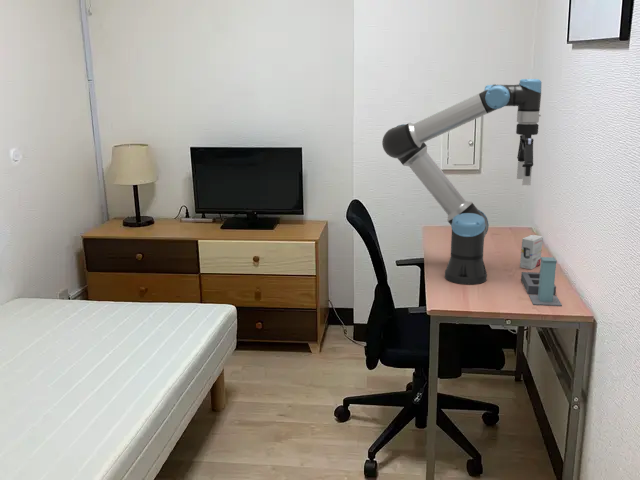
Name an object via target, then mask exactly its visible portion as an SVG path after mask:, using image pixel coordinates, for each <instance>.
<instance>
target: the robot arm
mask: <svg viewBox="0 0 640 480" xmlns="http://www.w3.org/2000/svg"><path fill="white" fill-rule="evenodd" d="M542 83H543V82H542V80H541V79H539V78H521V79H520V80H519V83H518V84H495V83H494V84H487V85H485V86H484V90H483V91H481V92H479V93H477V94H475V95H473V96H470V97H469V98H466V99H464V100H463V101H460V102H458V103H456V104H453V105H451V106H449V107H446V108H445V109H443V110H441V111H439V112H437V113H435V114H431V115H430V116H428V117H425V118H424V119H422V120H419V121H417V122H415V123H411V122H408V123H407V124H406V123H403V124H399V125H397V126H395V127H391V128H390V129H388V130H387V131H386V132H385V133H384V135H383V137H382V148H383V151H384V152H385V154H386V155H388V157H390V158H393V159H397V160H398V161H399V162H400V164H401V165H402V166H404V167H405V166H406V167H409V168H410V169H411V171H412V172H413V173H414V175H415V176H416V177H417V178H418V179H419V181H420V182H421V183H422V184H423V186H424V187H425V188H426V189H427V191H428V192H429V193H430V194H431V196H432V197H433V198H434V199H435V201H436V202H437V203H438V205H439V206H440V207H441V208H442V209H443V211H444V212H445V213H446V215H447V222H448V223H449V225H450V227H451V240H450V242H451V243H450V257H449V260H448V263H447V265H446V269H445V271H444V278H445V280H446V281H448V282H451V283H455V284H460V285H479V284H482V283H485V282H486V281H487V280H488V279H487V276H488V274H487V269H486V266H485V263H484V262H485V261H484V247H485V237H486V235H487V233H488V231H489V225H490V223H489V219H488V217H487V216H486V214H485V213H484V212H483V211H481V210H480V209H478V207H476V206H475V204H474V203H473V202H472V201H468V200H466V199H465V198H464V197H463V195H461V192H459V190H457V188H456V187H455V185H454V184H453V183H452V181H451V180H450V179H449V178H448V177H447V176H446V174H445V173H444V172H443V171H442V169H441V168H440V167H439V166H438V164H437V163H436V162H435V161H434V159H433V158H432V157H431V155H430V154H429V153H428V146H427V145H428V144H426V143H425V142H427V141H429V140H430V141H431V140H432V139H435V138H437V137H438V136H442V135H444V134H445V133H447V132H450V131H452V130H454V129H457V128H459V127H461V126H463V125H465V124H467V123H470V122H472V121H474V120H476V119H479V118H481V117H483V116H485V115H487V114H490V113H492V112H495V111H496V110H500V109H502V108H504V107H517V113H516V116H517V117H516V122H517V124H516V129H515V134H517V135H519V143H518V152H517V156H516V158H517V168H516V169H517V170H516V172H517V173H516V180H521V181H522V184H521V185H522V186H531V183H532V182H531V181H532V172H533V171H532V169H533V166H534V138H532V136H537V135H538V134H539V124H538V123H539V122H540V117H542V115H541V113H540V111H541V98H542Z"/></svg>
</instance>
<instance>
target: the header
mask: <svg viewBox="0 0 640 480" xmlns="http://www.w3.org/2000/svg"><path fill="white" fill-rule="evenodd" d="M520 275H521V276H520V281H521V282H522V285H523V287H524V289H525V291H526V293H527V295H538V289H539V277H540V272H535V271H533V272H531V271H530V272H529V271H521V273H520ZM556 291H557V286H556V285H555V283H554V293H553V296H556Z"/></svg>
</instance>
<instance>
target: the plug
mask: <svg viewBox="0 0 640 480" xmlns="http://www.w3.org/2000/svg"><path fill="white" fill-rule="evenodd" d="M557 262H558V261H557V260H556V258H555V257H554V256H553V257H550V256H541V260H540V266H539V273H540V277H539V289H538V299H539V301H540V302H553V296H554V295H553V293H554V284H555V281H556V279H555V278H556V270H557V269H556V268H557Z"/></svg>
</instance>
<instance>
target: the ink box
mask: <svg viewBox="0 0 640 480" xmlns="http://www.w3.org/2000/svg"><path fill="white" fill-rule="evenodd" d="M543 240H544V236H541V235H535V234H530V235H528V236H525V237H523V238H522V240H521V250H520V251H521V252H520V259H519V260H520V262H519V268H523V269H527V270H533V269H535V268H537V267H538V266H539V265H541V257H542V251H543V249H542V248H543Z"/></svg>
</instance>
